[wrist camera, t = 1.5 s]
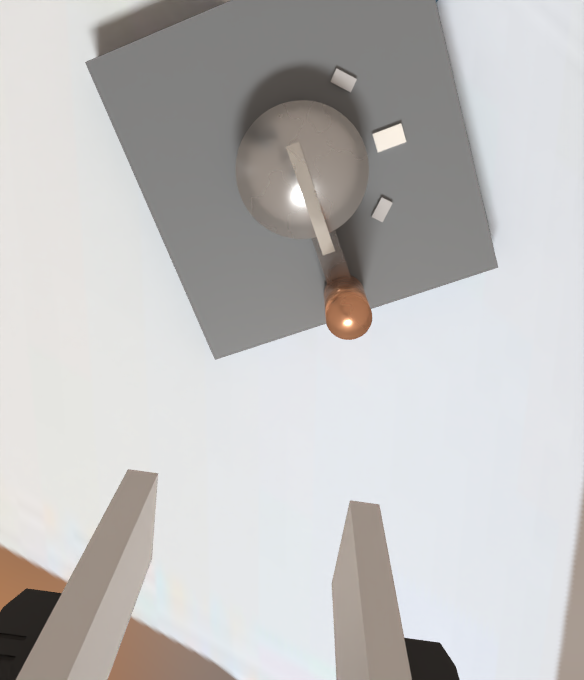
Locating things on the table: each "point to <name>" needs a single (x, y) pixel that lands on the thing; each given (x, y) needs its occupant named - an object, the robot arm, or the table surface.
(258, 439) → the table surface
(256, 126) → the dial
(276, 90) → the board
